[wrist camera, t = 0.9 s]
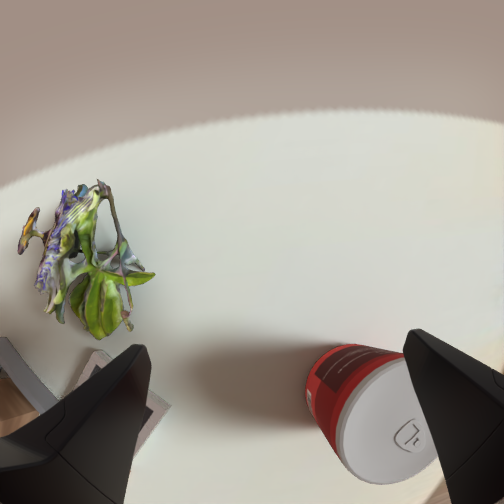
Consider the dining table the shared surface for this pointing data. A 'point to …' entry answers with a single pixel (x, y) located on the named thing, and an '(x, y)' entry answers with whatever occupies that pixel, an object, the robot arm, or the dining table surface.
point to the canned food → (370, 413)
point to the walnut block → (14, 408)
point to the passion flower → (84, 263)
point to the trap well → (153, 405)
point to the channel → (25, 378)
